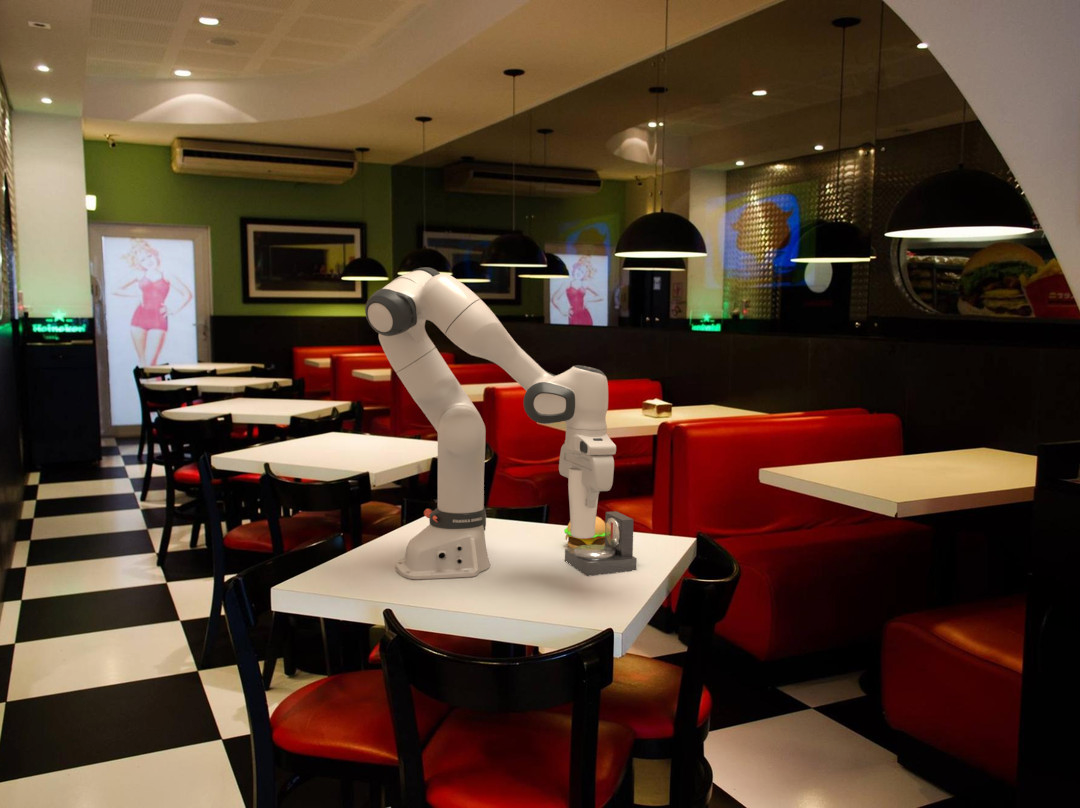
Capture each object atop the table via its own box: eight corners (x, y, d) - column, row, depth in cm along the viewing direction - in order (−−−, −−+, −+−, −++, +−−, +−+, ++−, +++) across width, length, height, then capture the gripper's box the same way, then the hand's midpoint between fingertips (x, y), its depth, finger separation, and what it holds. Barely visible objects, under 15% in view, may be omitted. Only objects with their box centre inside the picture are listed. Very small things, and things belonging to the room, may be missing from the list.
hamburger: (619, 547, 223) (619, 515, 222) (589, 556, 214) (590, 523, 213) (584, 539, 231) (584, 508, 230) (554, 547, 222) (555, 515, 221)
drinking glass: (563, 538, 183) (564, 469, 182) (571, 532, 190) (573, 465, 189) (593, 541, 181) (595, 471, 180) (601, 534, 188) (602, 467, 187)
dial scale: (587, 576, 198) (588, 525, 196) (564, 560, 210) (565, 513, 208) (636, 570, 202) (637, 521, 201) (611, 556, 214) (612, 509, 213)
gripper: (553, 434, 192) (550, 494, 193) (593, 448, 173) (589, 514, 174) (578, 433, 194) (575, 493, 196) (620, 447, 176) (616, 513, 177)
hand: (582, 503), depth 185 cm, fingers closed on drinking glass, 6 cm apart
